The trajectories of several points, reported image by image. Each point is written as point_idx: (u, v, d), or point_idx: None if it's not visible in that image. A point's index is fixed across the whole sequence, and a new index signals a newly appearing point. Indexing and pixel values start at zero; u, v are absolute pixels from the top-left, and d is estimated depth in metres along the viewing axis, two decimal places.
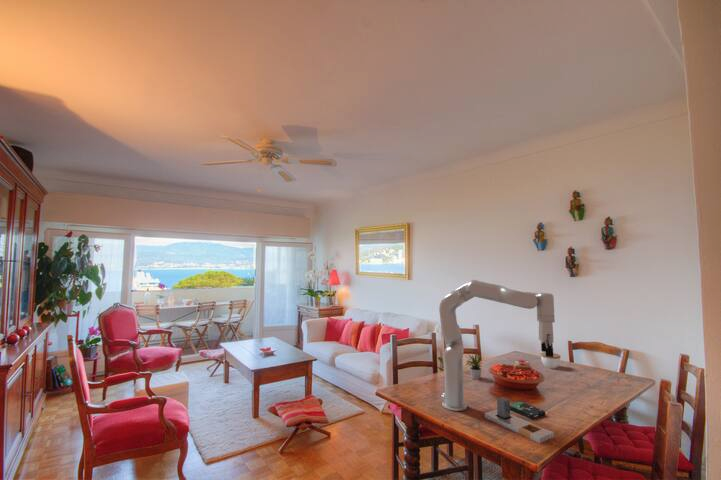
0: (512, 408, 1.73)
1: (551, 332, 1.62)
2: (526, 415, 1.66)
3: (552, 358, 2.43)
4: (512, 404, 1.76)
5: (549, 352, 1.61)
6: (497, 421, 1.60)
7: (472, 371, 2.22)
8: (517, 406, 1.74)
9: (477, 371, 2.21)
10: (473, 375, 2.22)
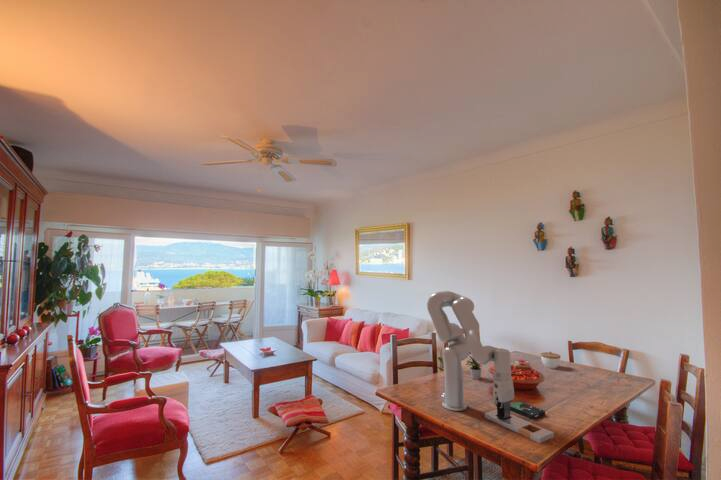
0: (512, 408, 1.73)
1: None
2: (527, 415, 1.66)
3: (552, 358, 2.43)
4: (512, 404, 1.76)
5: None
6: (497, 421, 1.60)
7: (472, 371, 2.22)
8: (517, 406, 1.74)
9: (477, 371, 2.21)
10: (473, 375, 2.22)
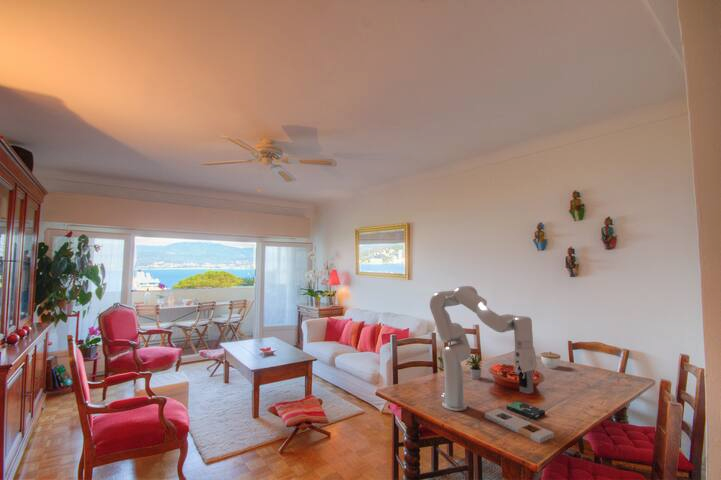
0: (512, 409, 1.72)
1: None
2: (527, 416, 1.66)
3: (552, 358, 2.43)
4: (512, 405, 1.76)
5: None
6: (497, 421, 1.60)
7: (472, 371, 2.22)
8: (517, 406, 1.73)
9: (477, 371, 2.21)
10: (473, 375, 2.22)
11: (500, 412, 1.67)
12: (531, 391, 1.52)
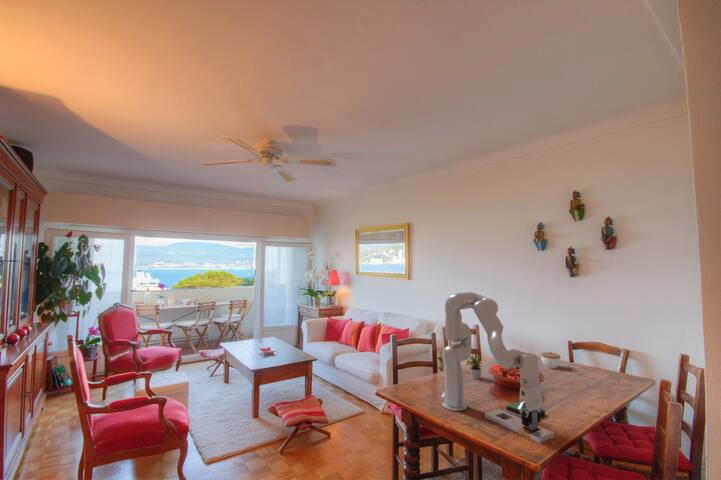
0: (513, 409, 1.72)
1: None
2: None
3: (552, 358, 2.43)
4: (511, 405, 1.75)
5: None
6: (497, 421, 1.60)
7: (472, 371, 2.22)
8: (517, 407, 1.73)
9: (477, 371, 2.21)
10: (473, 375, 2.22)
11: (500, 412, 1.67)
12: None
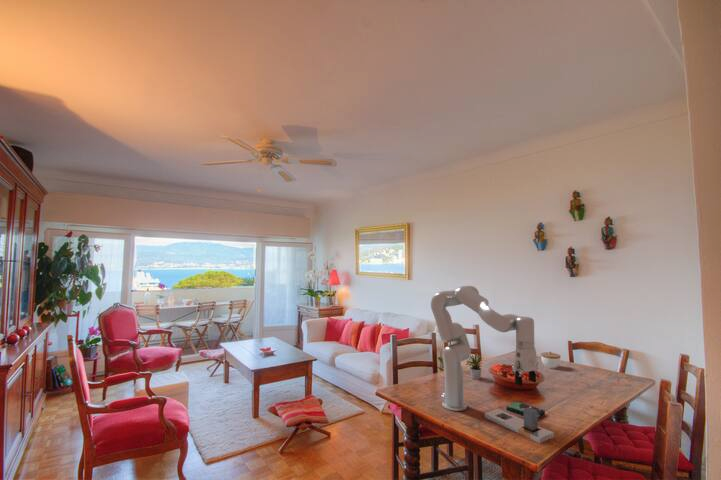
0: (513, 409, 1.71)
1: None
2: None
3: (552, 358, 2.43)
4: (511, 405, 1.75)
5: None
6: (497, 421, 1.60)
7: (472, 371, 2.22)
8: (517, 407, 1.73)
9: (477, 371, 2.21)
10: (473, 375, 2.22)
11: (500, 412, 1.67)
12: None
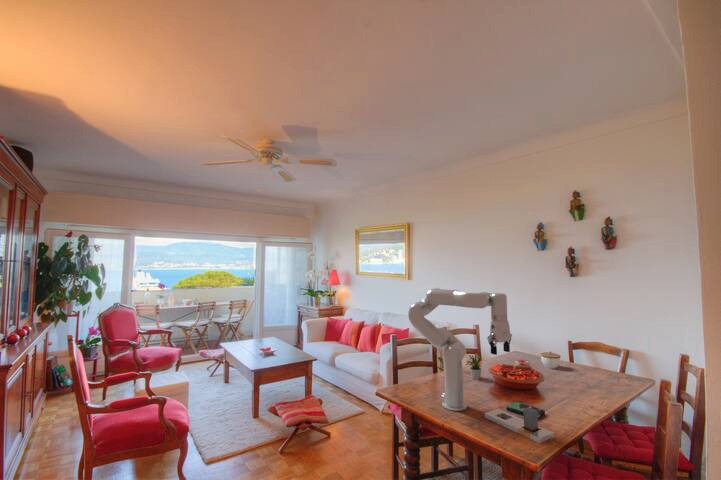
0: (513, 410, 1.71)
1: None
2: None
3: (552, 358, 2.43)
4: (511, 405, 1.75)
5: None
6: (497, 421, 1.60)
7: (472, 371, 2.22)
8: (517, 407, 1.73)
9: (477, 371, 2.21)
10: (473, 375, 2.22)
11: (500, 412, 1.67)
12: None
